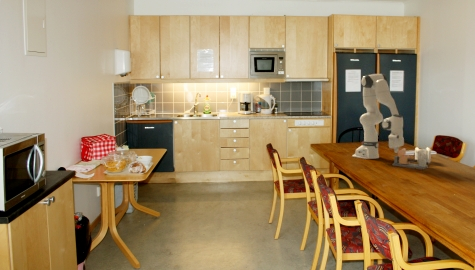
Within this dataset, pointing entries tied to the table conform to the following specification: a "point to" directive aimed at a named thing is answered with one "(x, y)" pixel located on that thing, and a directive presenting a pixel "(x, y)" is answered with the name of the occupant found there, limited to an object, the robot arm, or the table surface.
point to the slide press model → (420, 162)
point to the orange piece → (403, 156)
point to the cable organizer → (423, 154)
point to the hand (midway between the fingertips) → (396, 152)
